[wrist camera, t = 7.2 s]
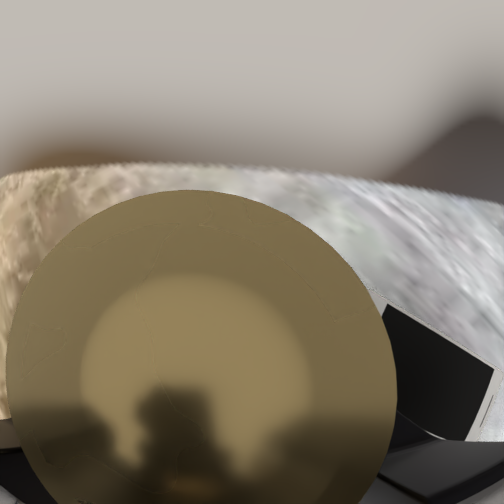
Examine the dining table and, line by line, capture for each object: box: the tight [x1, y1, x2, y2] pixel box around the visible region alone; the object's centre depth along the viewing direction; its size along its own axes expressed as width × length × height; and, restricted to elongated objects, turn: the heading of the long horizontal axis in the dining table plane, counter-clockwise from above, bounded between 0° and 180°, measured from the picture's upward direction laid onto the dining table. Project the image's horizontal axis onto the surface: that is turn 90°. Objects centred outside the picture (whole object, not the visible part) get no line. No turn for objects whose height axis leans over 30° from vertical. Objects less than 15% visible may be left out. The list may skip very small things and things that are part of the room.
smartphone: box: [367, 289, 504, 442], centre depth 17 cm, size 7×15×1 cm, turn 58°
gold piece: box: [6, 190, 397, 504], centre depth 9 cm, size 7×7×13 cm
